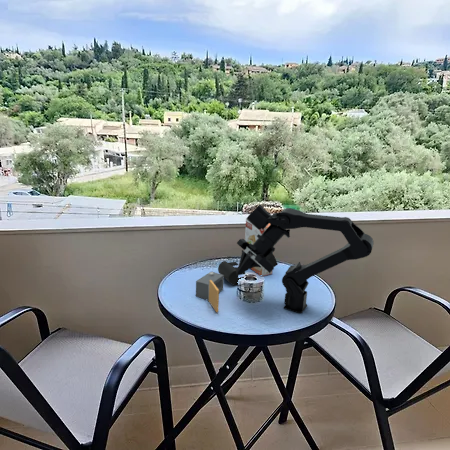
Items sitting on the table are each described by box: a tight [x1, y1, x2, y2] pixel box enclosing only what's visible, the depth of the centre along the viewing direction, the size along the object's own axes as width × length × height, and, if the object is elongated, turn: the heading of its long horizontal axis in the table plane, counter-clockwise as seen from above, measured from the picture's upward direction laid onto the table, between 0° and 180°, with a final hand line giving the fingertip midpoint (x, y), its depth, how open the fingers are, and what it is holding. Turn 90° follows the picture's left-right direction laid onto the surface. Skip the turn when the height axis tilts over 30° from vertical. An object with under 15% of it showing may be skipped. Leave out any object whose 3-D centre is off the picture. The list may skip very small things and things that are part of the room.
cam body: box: [195, 271, 225, 301], centre depth 154 cm, size 6×10×7 cm, turn 150°
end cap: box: [217, 260, 246, 287], centre depth 165 cm, size 10×7×7 cm
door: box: [207, 280, 220, 313], centre depth 144 cm, size 9×1×8 cm, turn 20°
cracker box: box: [244, 217, 275, 277], centre depth 174 cm, size 14×6×21 cm, turn 28°
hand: (237, 273), depth 143 cm, fingers closed
